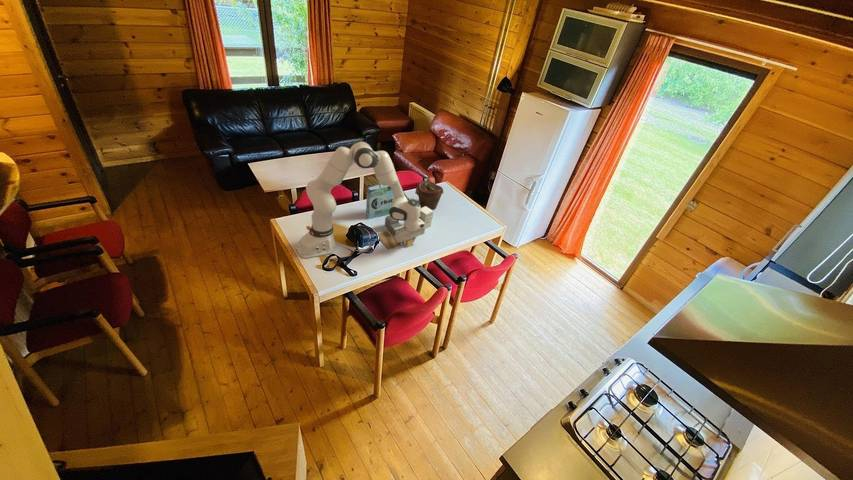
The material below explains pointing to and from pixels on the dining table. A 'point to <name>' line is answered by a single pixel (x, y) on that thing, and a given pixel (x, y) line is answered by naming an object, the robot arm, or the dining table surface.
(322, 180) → the robot arm
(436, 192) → the brown plant pot
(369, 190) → the gum box
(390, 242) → the brown wooden board
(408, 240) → the yellow block
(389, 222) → the dispenser
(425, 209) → the supplement box
